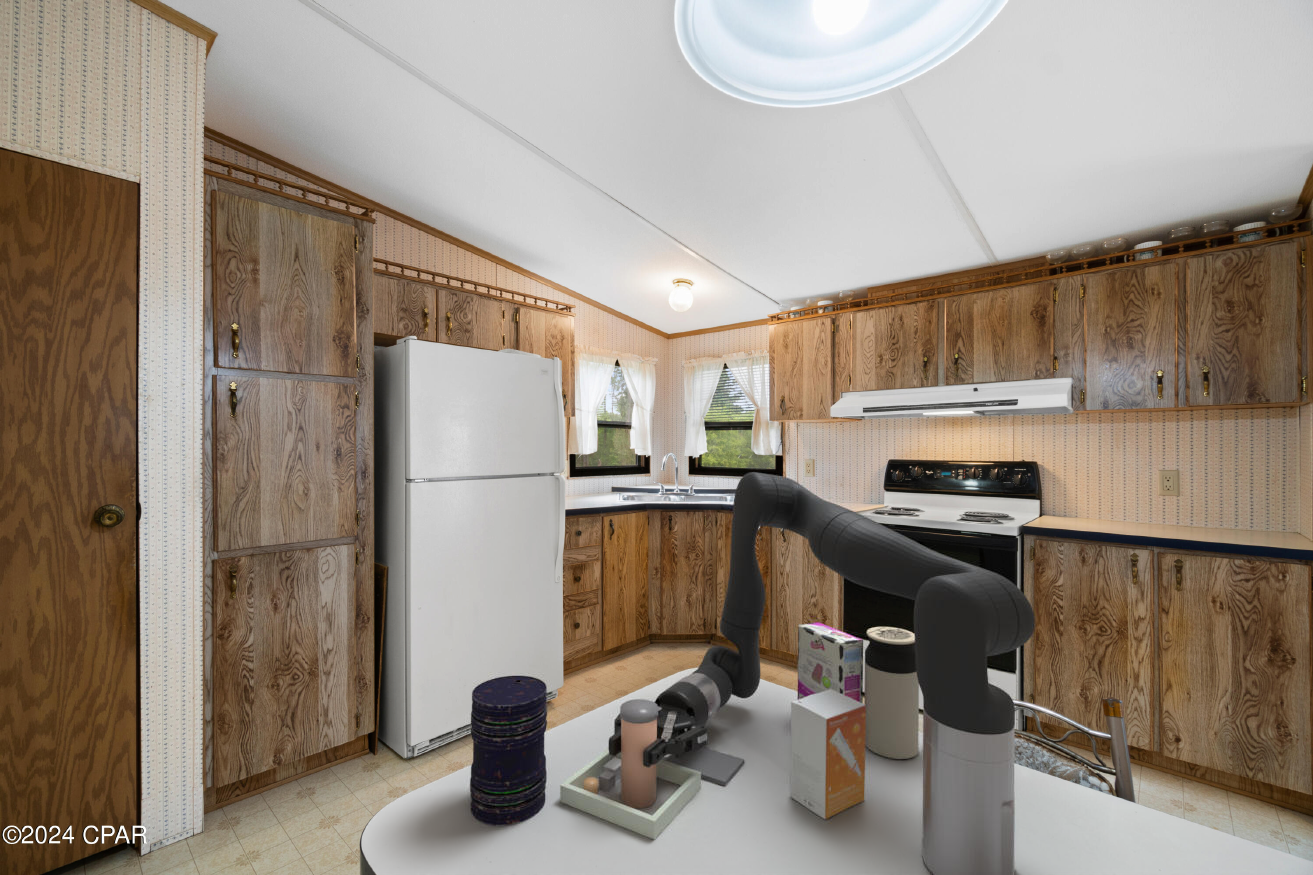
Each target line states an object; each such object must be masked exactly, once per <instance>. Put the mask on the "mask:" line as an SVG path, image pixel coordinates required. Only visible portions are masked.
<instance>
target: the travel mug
mask: <svg viewBox="0 0 1313 875" xmlns="http://www.w3.org/2000/svg"><path fill="white" fill-rule="evenodd" d="M866 635H867V636H868V640H869V642H868V645H867V646H866V648H865V650H864V704H865V705H866V727H865V747H866V748H867V749H869V750H871V752H873V753H874V754H877V755H879V756H881V757H885V758H888V759H894V760H905V759H911V758H913V757H916V756H917V755H918V753H919V725H920V722H919V718H920V717H919V714H920V713H919V712H920V710H919V709H920V708H919V707H920V706H919V704H920V702H919V700H920V699H919V698H920V696H919V693H920V692H919V691H920V685H919V682H918V678H917V672H916V654H915V635H914V633H913V632H912V631H909V630H907V629H904V628H899V627H892V626H875V627H871V628H868V629H867V630H866Z"/></svg>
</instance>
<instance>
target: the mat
mask: <svg viewBox="0 0 1313 875" xmlns="http://www.w3.org/2000/svg"><path fill="white" fill-rule="evenodd" d="M685 745H686V742H685V743H684V747H685ZM665 761H668V762H671V763H674V764H677V765H680V766H683V767H686V768H689V769H693V770H696V771H699V772H701V780H706V781H708V782H711V783H715V784H716V785H717V784H718V785H720V786H723V787H727V785H728V784H729V783H730V781H731V780H732V779H733V777H735V775H736V774H737V773H738V772H739V771H740V769H741V768H742V767H743V766H744V764H745V758H741V757H738V756H734V755H731V754H729V753H724V752H722V751H719V750H715V749H710V748H708V747H706V746H704V747H702V748H700V749H699V750H697V751H695V752H693V753H691V754H689V755H687V756H686V757H684V758H682V759H677V758H675V754H670V756H669V757H666V759H665Z"/></svg>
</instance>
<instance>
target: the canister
mask: <svg viewBox="0 0 1313 875" xmlns="http://www.w3.org/2000/svg"><path fill="white" fill-rule="evenodd" d="M654 702H655V701H652V700H650V699H649V700H648V699H643V698H642V699H641V698H639V699H638V698H637V699H631V700H627V701H625V702H623V703H621V705H620V706H619V707H620V712H619V714H620V716H621V777H620V800H621V802H622V804H623V805H626V806H628V807H631V808H634V809H645V808H647V807H649V806H651V805H653V804H655V802H656V800H657V777H656V771H657V764H654V765H651V766H650V767H649V768H648V767H645V766H643V752H644V750H645V748H647V747H648V746H649V745H650V744H651V743H653V742H654V741H655V740H656V739H657V717H658V705H657V704H656V703H654Z"/></svg>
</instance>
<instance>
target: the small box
mask: <svg viewBox="0 0 1313 875" xmlns="http://www.w3.org/2000/svg"><path fill="white" fill-rule="evenodd" d="M790 704H791V706H790V710H791V711H790V716H791V717H790V771H789V772H790V775H789V776H790V777H789V778H790V782H789V783H790V784H789V786H790V787H789V796H790V798H792V799H793V800H794V801H796V802H798V803H799V804H801V805H802V806H804V807H805V808H807V809H808V810H810V811H811V812H813V813H814V814H816V815H817V816H819V817H821V819H823V820H827V819H829V818H831V817H833V816H835V815H837V814H839V813H840V812H843V811H845V810H847V809H849V808H851V807H853V806H855V805H857V804H859V803H862V802H864V801H865V797H866V796H865V795H866V794H865V792H866V791H865V780H866V745H865V727H866V705H865V703H860V702H858V701H856V700H854V699H852V698H849V697H847V696H845V695H843V694H841V693H838V692H836V691H834V690H832V689H830V690H827V691H823V692H820V693H817V694H812V695H809V696H807V697H804V698H802V699H799V700H797V699H796V700H793V701H791V702H790Z"/></svg>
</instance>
